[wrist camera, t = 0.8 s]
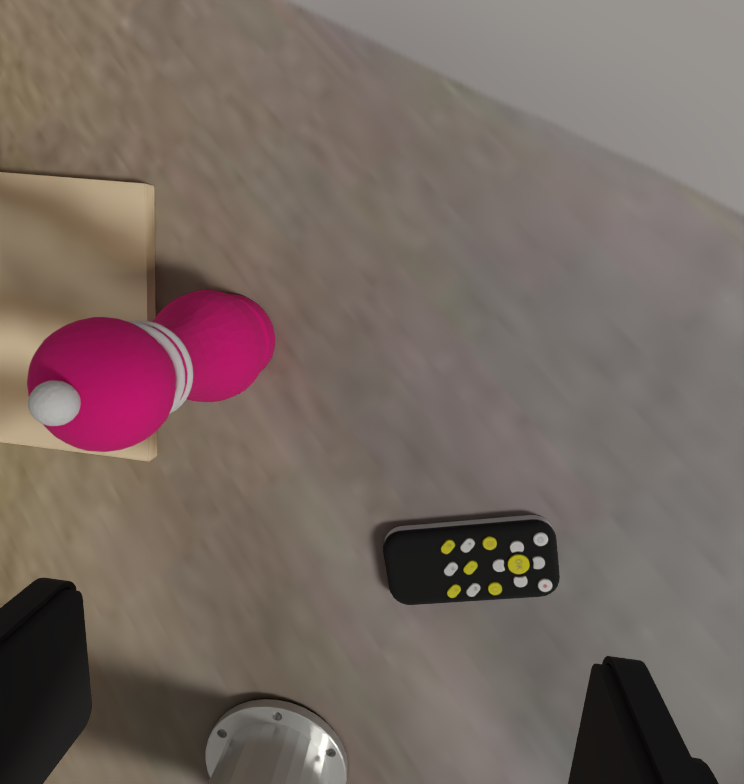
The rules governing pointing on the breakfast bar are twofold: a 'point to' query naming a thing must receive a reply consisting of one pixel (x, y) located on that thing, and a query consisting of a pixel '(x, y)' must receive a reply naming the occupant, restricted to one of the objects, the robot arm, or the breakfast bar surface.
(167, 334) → the pepper mill
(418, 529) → the remote control
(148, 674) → the breakfast bar surface
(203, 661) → the breakfast bar surface
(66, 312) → the cutting board
